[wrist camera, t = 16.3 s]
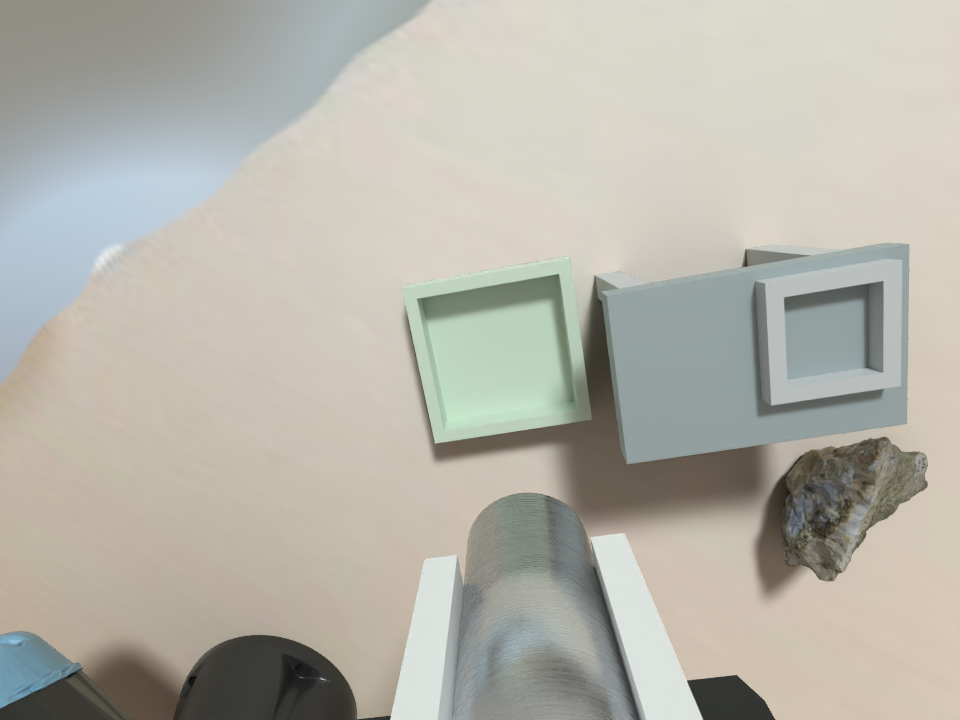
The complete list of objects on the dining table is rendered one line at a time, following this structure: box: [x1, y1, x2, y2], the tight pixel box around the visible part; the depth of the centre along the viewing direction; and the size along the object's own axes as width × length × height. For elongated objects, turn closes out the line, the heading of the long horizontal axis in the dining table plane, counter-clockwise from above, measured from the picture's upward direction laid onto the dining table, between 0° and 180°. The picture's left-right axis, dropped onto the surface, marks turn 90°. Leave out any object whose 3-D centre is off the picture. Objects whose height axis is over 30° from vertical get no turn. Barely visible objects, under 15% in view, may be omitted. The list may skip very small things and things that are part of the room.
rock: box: [782, 437, 928, 581], centre depth 36 cm, size 11×6×10 cm
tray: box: [402, 256, 592, 444], centre depth 36 cm, size 11×11×3 cm
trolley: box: [595, 243, 909, 464], centre depth 31 cm, size 14×10×12 cm
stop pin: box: [452, 493, 639, 720], centre depth 9 cm, size 3×3×10 cm
